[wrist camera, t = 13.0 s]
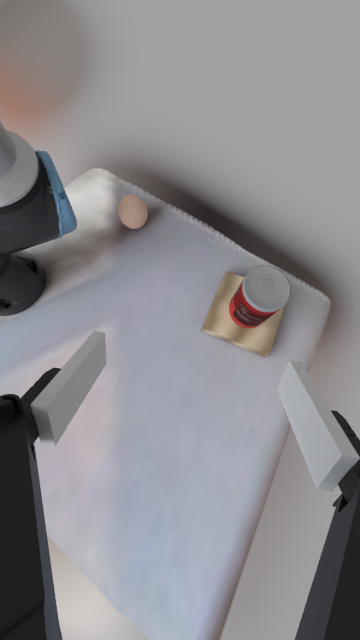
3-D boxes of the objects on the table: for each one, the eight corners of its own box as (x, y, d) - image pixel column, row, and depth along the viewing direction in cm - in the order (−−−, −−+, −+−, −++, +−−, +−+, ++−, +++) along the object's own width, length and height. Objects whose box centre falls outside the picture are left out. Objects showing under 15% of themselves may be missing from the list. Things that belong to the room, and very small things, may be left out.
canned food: (258, 290, 47) (282, 261, 37) (270, 325, 45) (298, 306, 34) (223, 296, 47) (237, 269, 36) (233, 332, 44) (251, 314, 34)
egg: (119, 217, 56) (110, 190, 48) (144, 210, 57) (139, 182, 49) (126, 238, 54) (118, 214, 47) (152, 231, 55) (149, 205, 47)
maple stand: (200, 331, 47) (202, 327, 45) (223, 277, 51) (226, 270, 48) (263, 357, 46) (269, 355, 43) (282, 300, 50) (288, 294, 47)
